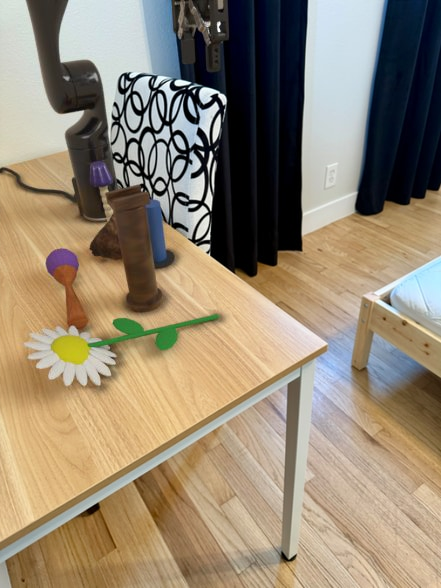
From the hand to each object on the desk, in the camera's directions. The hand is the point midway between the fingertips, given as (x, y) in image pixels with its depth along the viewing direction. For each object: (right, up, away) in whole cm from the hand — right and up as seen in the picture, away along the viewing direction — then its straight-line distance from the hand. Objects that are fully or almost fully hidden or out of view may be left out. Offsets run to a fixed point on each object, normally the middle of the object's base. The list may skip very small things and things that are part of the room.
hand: (200, 67), depth 72 cm
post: (-10, -39, +5) cm, 41 cm away
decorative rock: (-17, -30, +18) cm, 39 cm away
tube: (-10, -26, +12) cm, 30 cm away
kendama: (-24, -39, +7) cm, 46 cm away
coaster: (-10, -31, +16) cm, 36 cm away
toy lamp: (-21, -25, +25) cm, 41 cm away
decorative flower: (-10, -47, -4) cm, 48 cm away
